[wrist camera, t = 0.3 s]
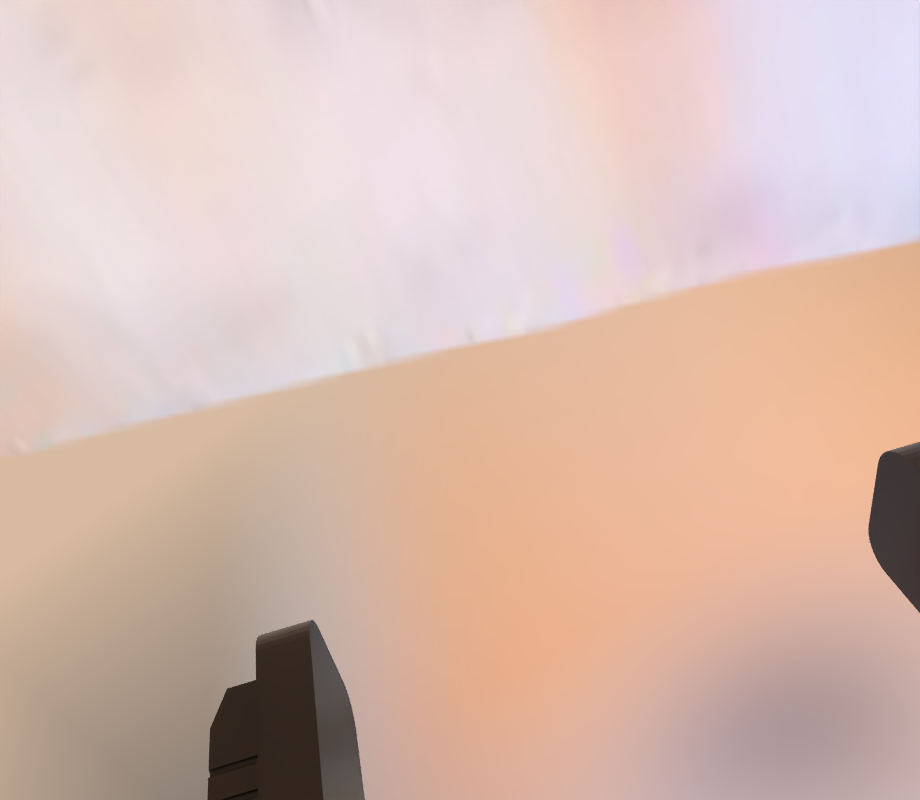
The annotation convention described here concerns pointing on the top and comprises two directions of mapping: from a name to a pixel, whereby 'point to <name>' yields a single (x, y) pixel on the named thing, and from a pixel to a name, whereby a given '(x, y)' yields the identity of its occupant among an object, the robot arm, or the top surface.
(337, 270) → the top surface
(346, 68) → the top surface
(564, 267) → the top surface
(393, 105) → the top surface
